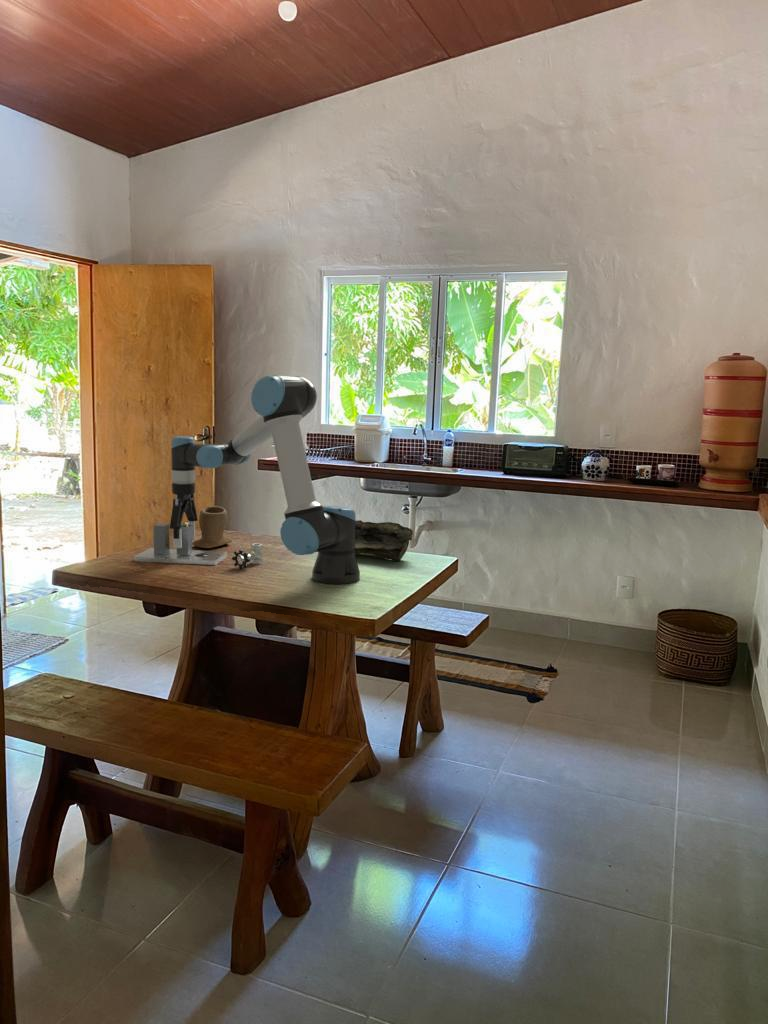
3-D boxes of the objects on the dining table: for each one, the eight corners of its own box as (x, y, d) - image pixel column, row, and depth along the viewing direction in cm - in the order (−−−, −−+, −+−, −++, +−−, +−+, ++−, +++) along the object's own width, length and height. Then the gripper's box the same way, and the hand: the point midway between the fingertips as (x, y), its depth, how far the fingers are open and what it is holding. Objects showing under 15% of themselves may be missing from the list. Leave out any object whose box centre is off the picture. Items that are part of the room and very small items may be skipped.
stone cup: (210, 552, 271) (210, 511, 269) (187, 547, 278) (187, 507, 275) (240, 545, 284) (240, 506, 281) (218, 541, 290) (217, 502, 288)
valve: (252, 560, 261) (231, 568, 250) (252, 542, 260) (231, 548, 249) (268, 563, 258) (248, 570, 247) (268, 544, 257) (248, 550, 246)
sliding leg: (188, 555, 258) (187, 524, 256) (176, 554, 259) (176, 523, 257) (192, 552, 262) (191, 522, 260) (180, 551, 262) (180, 521, 261)
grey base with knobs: (215, 565, 253) (215, 531, 251) (134, 561, 255) (133, 527, 253) (227, 555, 266) (227, 523, 265) (150, 552, 269) (149, 520, 267)
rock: (411, 576, 265) (427, 541, 272) (400, 556, 255) (416, 520, 262) (344, 562, 278) (361, 529, 285) (331, 543, 269) (348, 509, 276)
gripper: (185, 477, 269) (186, 535, 272) (158, 486, 244) (160, 550, 248) (205, 478, 268) (206, 536, 272) (181, 487, 244) (182, 552, 247)
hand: (184, 543), depth 260 cm, fingers open, 13 cm apart
